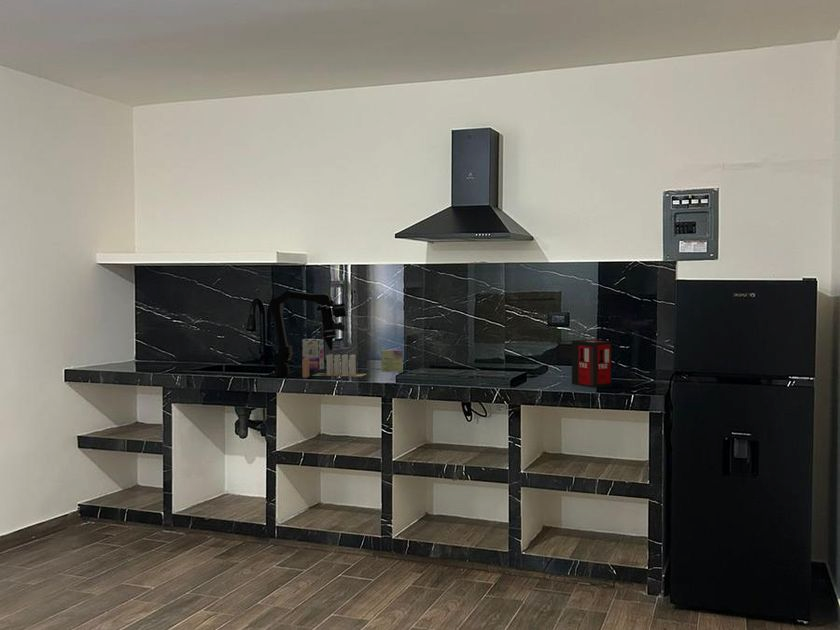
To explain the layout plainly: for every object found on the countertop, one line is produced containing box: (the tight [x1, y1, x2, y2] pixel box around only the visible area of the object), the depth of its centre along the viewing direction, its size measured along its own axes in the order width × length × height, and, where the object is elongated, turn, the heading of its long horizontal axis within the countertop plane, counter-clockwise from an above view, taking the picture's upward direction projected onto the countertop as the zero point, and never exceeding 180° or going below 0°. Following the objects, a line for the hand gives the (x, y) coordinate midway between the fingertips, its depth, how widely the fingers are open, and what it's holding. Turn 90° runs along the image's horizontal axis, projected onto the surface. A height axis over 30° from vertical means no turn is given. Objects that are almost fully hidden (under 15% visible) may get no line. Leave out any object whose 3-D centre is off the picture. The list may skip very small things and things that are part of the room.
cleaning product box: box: [571, 339, 613, 389], centre depth 372 cm, size 16×9×20 cm, turn 30°
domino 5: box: [348, 354, 357, 377], centre depth 410 cm, size 2×5×10 cm, turn 167°
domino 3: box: [333, 353, 342, 375], centre depth 412 cm, size 2×5×10 cm, turn 167°
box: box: [380, 349, 403, 374], centre depth 426 cm, size 10×6×12 cm, turn 100°
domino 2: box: [325, 353, 334, 375], centre depth 413 cm, size 2×5×10 cm, turn 167°
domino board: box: [311, 372, 367, 378], centre depth 412 cm, size 26×10×1 cm, turn 77°
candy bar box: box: [301, 338, 325, 371], centre depth 444 cm, size 11×5×16 cm, turn 62°
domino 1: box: [301, 358, 310, 379], centre depth 405 cm, size 2×5×10 cm, turn 167°
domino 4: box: [341, 353, 349, 377], centre depth 411 cm, size 2×5×10 cm, turn 167°
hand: (330, 349), depth 413 cm, fingers open, 9 cm apart
